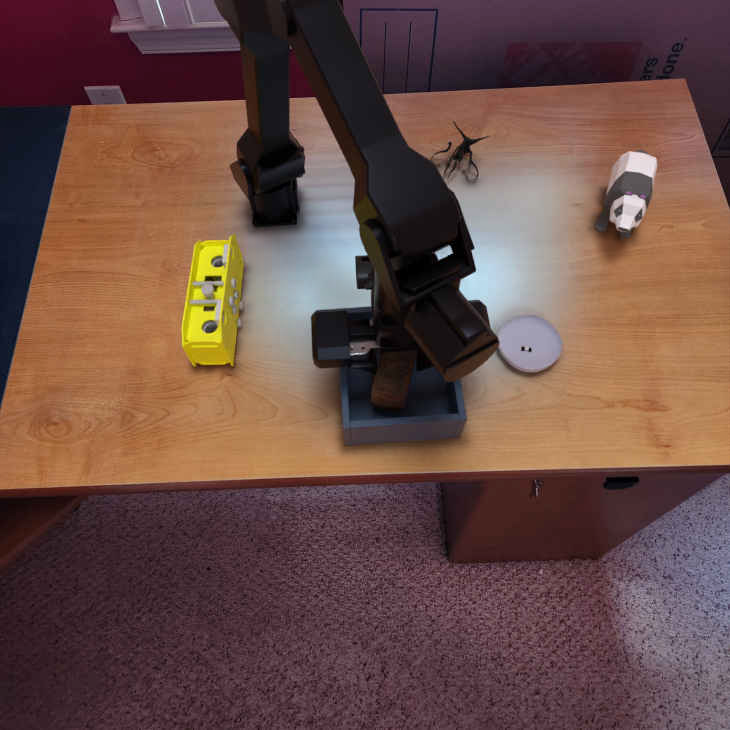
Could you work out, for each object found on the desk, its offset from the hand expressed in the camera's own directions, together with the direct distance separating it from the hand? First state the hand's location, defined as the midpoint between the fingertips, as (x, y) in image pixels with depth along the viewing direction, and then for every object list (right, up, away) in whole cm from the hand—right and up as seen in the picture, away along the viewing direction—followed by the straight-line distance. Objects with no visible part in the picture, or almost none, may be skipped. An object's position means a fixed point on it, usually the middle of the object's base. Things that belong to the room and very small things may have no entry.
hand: (396, 369), depth 69 cm
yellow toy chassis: (-23, +7, +8) cm, 25 cm away
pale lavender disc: (+17, +3, +5) cm, 18 cm away
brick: (0, 0, +1) cm, 1 cm away
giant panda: (+32, +21, +15) cm, 41 cm away
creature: (+11, +33, +19) cm, 40 cm away
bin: (0, -2, +3) cm, 3 cm away
